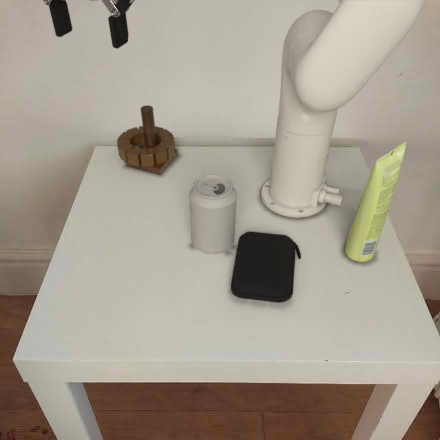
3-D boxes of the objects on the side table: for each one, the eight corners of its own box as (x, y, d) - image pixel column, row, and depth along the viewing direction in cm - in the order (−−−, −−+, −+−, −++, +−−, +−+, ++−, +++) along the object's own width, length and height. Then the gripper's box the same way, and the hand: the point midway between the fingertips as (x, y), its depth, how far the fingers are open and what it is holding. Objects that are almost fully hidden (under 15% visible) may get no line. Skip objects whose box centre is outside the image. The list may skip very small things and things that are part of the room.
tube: (342, 239, 80) (371, 138, 65) (371, 241, 80) (407, 140, 65) (345, 262, 76) (376, 160, 62) (375, 264, 76) (414, 162, 61)
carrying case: (297, 310, 69) (300, 245, 79) (300, 297, 67) (303, 232, 77) (228, 302, 70) (239, 239, 80) (229, 289, 68) (240, 225, 78)
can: (230, 260, 76) (232, 202, 67) (186, 253, 77) (183, 195, 68) (237, 231, 81) (240, 174, 72) (197, 225, 82) (195, 168, 73)
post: (178, 155, 97) (174, 103, 89) (160, 175, 92) (154, 122, 84) (145, 147, 99) (139, 95, 91) (126, 166, 94) (117, 113, 86)
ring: (183, 143, 98) (183, 132, 96) (159, 171, 91) (158, 160, 89) (135, 132, 100) (134, 121, 98) (108, 159, 93) (106, 148, 91)
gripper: (-18, -120, 53) (27, 38, 66) (107, -108, 49) (130, 59, 61) (24, -128, 58) (59, 22, 70) (143, -118, 53) (157, 40, 66)
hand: (92, 39), depth 66 cm, fingers open, 9 cm apart
